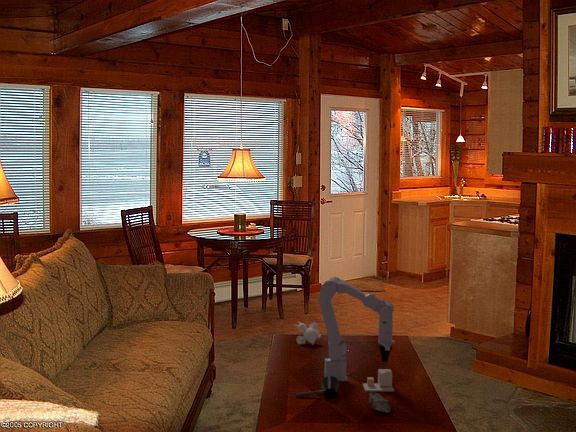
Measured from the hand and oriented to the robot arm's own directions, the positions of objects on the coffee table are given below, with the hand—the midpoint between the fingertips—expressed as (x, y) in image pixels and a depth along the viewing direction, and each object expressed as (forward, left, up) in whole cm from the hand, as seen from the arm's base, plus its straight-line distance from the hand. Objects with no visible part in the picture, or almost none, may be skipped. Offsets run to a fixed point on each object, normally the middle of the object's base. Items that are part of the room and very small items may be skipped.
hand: (384, 361), depth 310 cm
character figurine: (-29, +60, -10) cm, 68 cm away
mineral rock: (-6, -26, -10) cm, 29 cm away
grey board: (-3, -5, -10) cm, 11 cm away
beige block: (0, -3, -9) cm, 9 cm away
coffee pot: (-29, -13, -10) cm, 33 cm away
